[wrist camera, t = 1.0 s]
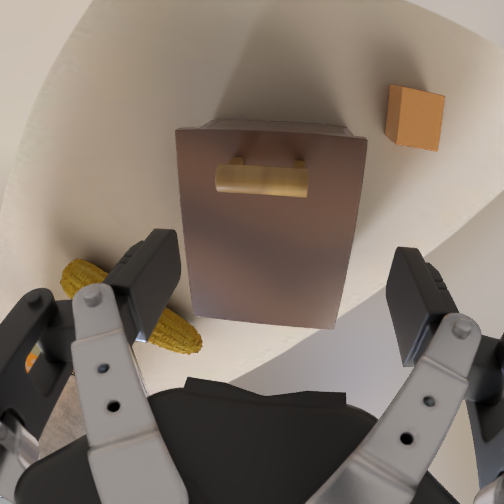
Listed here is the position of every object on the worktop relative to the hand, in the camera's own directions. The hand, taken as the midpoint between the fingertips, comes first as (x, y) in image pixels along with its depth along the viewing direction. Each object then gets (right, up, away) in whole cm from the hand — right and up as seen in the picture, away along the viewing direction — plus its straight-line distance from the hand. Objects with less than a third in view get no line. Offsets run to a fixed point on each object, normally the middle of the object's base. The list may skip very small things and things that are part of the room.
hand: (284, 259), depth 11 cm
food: (-17, -6, +31) cm, 35 cm away
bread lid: (0, +1, +13) cm, 13 cm away
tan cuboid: (+13, +13, +14) cm, 23 cm away
